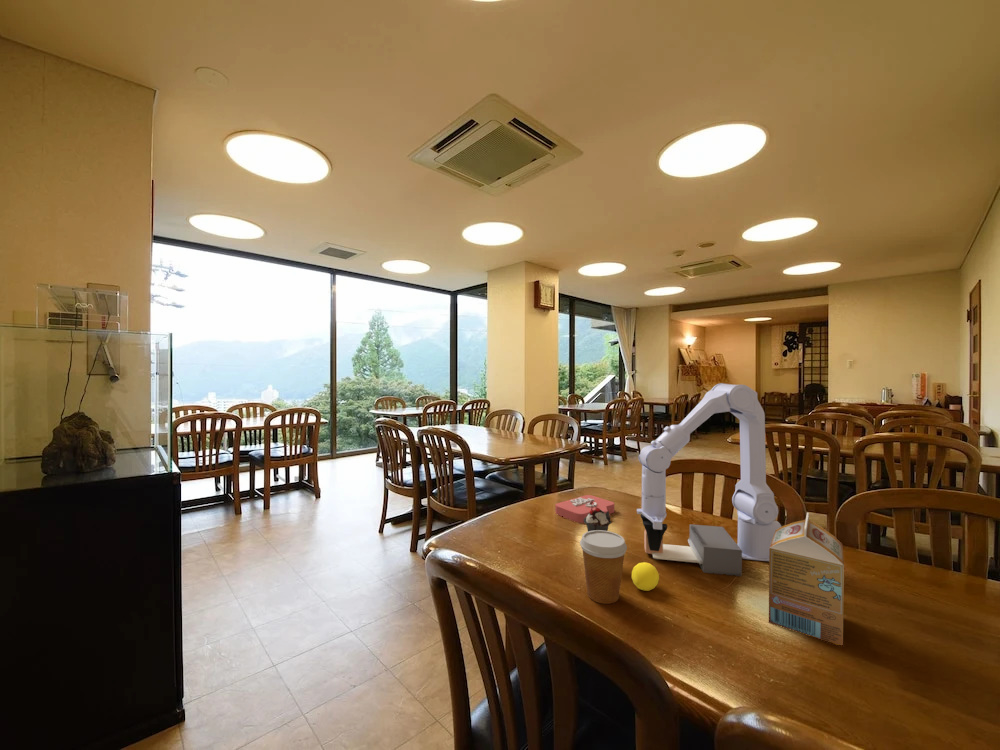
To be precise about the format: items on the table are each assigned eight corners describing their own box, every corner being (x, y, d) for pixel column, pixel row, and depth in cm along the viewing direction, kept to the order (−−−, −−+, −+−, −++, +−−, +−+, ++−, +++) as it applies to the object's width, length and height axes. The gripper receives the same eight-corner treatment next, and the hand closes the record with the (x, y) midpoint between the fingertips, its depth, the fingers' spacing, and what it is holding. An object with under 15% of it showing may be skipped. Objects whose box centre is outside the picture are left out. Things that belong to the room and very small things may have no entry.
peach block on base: (698, 549, 104) (698, 529, 104) (706, 563, 97) (707, 542, 96) (643, 544, 107) (643, 525, 107) (647, 557, 100) (647, 537, 99)
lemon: (649, 601, 83) (647, 576, 83) (626, 590, 87) (624, 566, 87) (666, 585, 88) (664, 561, 87) (643, 575, 92) (641, 553, 91)
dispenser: (722, 549, 106) (722, 526, 106) (741, 576, 92) (741, 550, 92) (687, 546, 108) (687, 524, 108) (700, 572, 94) (700, 546, 94)
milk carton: (774, 597, 84) (775, 506, 83) (841, 617, 77) (842, 518, 77) (768, 622, 75) (769, 521, 75) (842, 647, 69) (844, 536, 68)
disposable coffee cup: (621, 584, 89) (621, 530, 89) (631, 610, 79) (631, 549, 79) (577, 582, 90) (577, 528, 90) (582, 607, 80) (582, 547, 80)
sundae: (580, 564, 98) (580, 502, 98) (587, 553, 104) (587, 495, 104) (607, 570, 95) (607, 507, 95) (613, 558, 101) (614, 498, 101)
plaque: (588, 515, 121) (552, 502, 133) (588, 528, 121) (552, 514, 133) (624, 503, 132) (588, 492, 144) (624, 515, 132) (588, 503, 144)
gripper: (634, 484, 111) (633, 534, 111) (640, 501, 97) (639, 558, 97) (661, 486, 109) (661, 536, 109) (671, 504, 95) (671, 561, 95)
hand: (653, 547), depth 103 cm, fingers closed on peach block on base, 3 cm apart
